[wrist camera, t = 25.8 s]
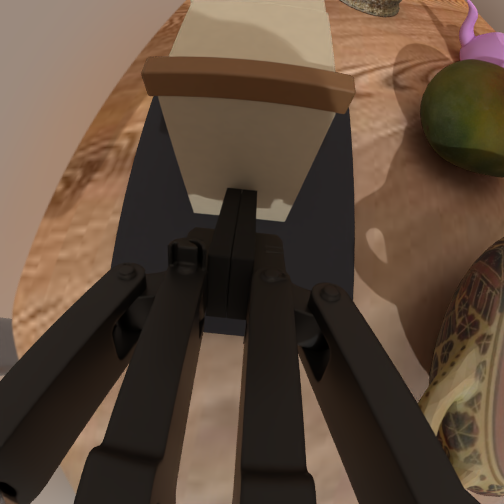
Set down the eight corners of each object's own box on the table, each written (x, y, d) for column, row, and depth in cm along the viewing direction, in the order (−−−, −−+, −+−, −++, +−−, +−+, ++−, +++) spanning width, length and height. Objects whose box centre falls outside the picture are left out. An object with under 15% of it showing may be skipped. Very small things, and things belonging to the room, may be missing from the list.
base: (109, 317, 20) (-48, 292, 6) (162, 81, 25) (133, -56, 11) (345, 342, 20) (500, 351, 7) (344, 99, 25) (403, -30, 11)
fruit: (512, 172, 25) (570, 131, 15) (460, 227, 23) (541, 182, 13) (449, 88, 27) (493, 32, 17) (381, 118, 25) (432, 41, 15)
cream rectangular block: (190, 217, 21) (139, 73, 8) (204, 136, 22) (186, -21, 9) (287, 226, 21) (357, 93, 8) (291, 145, 22) (339, -7, 10)
